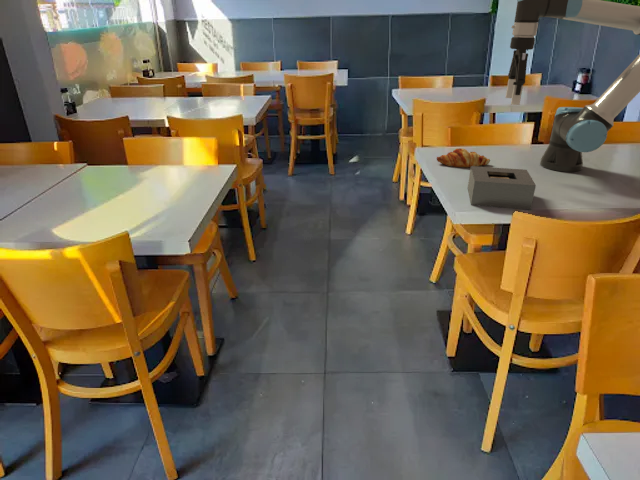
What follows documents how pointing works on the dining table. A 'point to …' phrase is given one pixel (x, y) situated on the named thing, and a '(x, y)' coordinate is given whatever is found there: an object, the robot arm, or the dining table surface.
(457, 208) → the dining table surface
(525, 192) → the box
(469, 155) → the croissant
